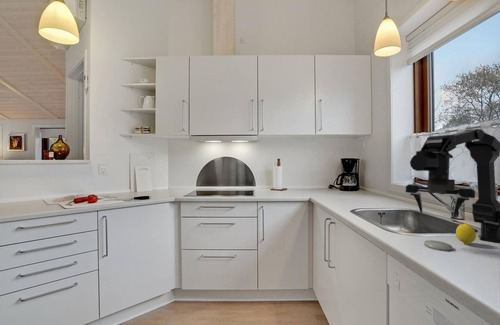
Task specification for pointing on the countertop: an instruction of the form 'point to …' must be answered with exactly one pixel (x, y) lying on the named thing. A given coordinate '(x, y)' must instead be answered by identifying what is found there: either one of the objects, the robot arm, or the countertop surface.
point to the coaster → (438, 245)
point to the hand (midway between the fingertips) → (437, 214)
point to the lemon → (465, 233)
